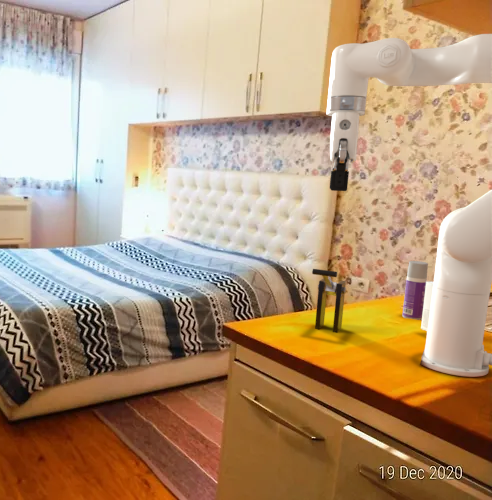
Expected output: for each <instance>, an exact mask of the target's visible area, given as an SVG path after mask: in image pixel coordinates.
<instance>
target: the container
mask: <svg viewBox="0 0 492 500" xmlns="http://www.w3.org/2000/svg"><path fill="white" fill-rule="evenodd" d="M428 267H429V263H428V262H426V261H420V260H409V261H408V266H407V273H406V279H405V289H404V298H403V305H402V306H403V308H402V315H401V316H402V317H403V318H404V319H410V320H416V321H422V314H423V305H424V297H425V288H426V282H427V281H428V280H427V279H428Z"/></svg>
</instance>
